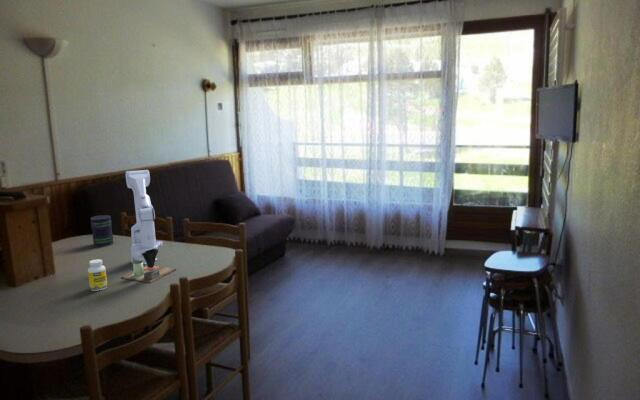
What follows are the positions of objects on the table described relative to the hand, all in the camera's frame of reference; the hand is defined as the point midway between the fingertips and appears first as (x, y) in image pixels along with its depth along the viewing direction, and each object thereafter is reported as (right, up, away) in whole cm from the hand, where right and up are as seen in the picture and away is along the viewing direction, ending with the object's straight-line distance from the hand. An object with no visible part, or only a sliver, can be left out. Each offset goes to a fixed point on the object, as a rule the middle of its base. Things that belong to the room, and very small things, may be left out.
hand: (151, 266), depth 198 cm
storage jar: (-44, +4, +53) cm, 69 cm away
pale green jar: (-6, -4, +3) cm, 8 cm away
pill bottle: (-18, -8, -9) cm, 21 cm away
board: (-3, -4, +7) cm, 8 cm away
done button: (0, -2, 0) cm, 2 cm away
